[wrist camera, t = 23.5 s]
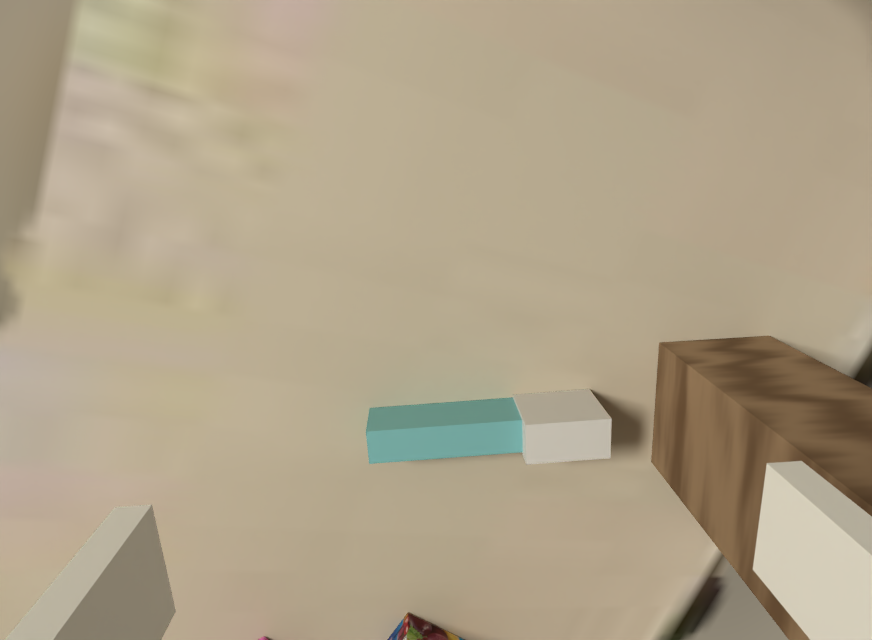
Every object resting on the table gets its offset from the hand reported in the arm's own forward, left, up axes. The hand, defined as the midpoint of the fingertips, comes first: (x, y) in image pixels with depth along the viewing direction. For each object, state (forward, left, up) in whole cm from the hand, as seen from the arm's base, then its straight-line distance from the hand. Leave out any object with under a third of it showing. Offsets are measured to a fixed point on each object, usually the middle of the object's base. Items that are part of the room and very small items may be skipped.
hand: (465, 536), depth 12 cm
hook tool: (+9, +13, -37) cm, 40 cm away
